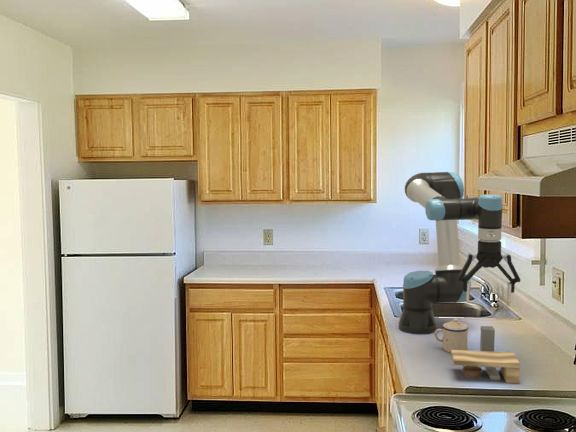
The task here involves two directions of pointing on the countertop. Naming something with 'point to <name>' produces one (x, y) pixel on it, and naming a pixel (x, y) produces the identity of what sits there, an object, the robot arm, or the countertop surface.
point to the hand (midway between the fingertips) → (488, 301)
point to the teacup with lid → (454, 335)
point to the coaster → (472, 371)
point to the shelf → (490, 362)
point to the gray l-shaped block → (489, 348)
